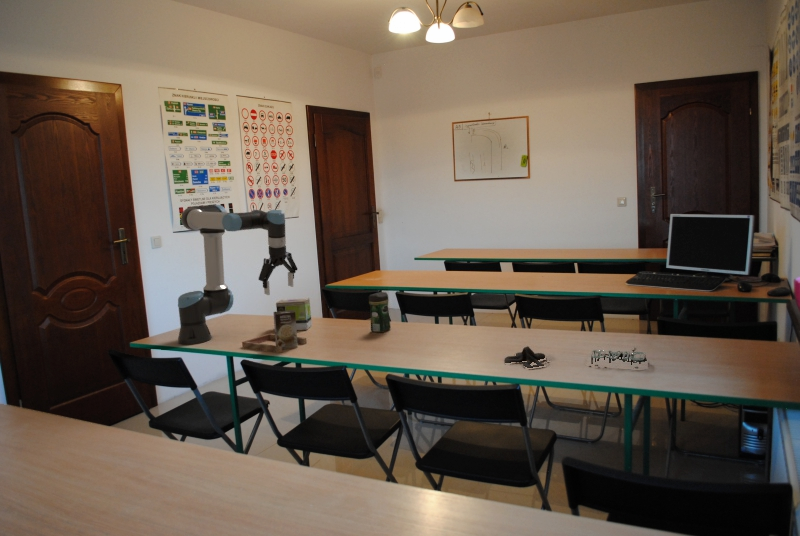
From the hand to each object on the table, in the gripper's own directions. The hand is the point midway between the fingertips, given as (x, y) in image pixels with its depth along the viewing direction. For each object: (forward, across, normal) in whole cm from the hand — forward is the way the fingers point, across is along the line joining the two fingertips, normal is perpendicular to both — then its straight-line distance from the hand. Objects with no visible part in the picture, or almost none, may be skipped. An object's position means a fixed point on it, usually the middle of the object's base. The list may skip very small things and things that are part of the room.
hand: (279, 290), depth 263 cm
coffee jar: (+24, +37, -29) cm, 53 cm away
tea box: (+31, +20, +14) cm, 39 cm away
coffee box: (+23, -6, -11) cm, 26 cm away
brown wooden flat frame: (+24, -7, -4) cm, 25 cm away
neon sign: (+3, +47, -138) cm, 146 cm away
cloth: (+6, +28, -112) cm, 116 cm away
